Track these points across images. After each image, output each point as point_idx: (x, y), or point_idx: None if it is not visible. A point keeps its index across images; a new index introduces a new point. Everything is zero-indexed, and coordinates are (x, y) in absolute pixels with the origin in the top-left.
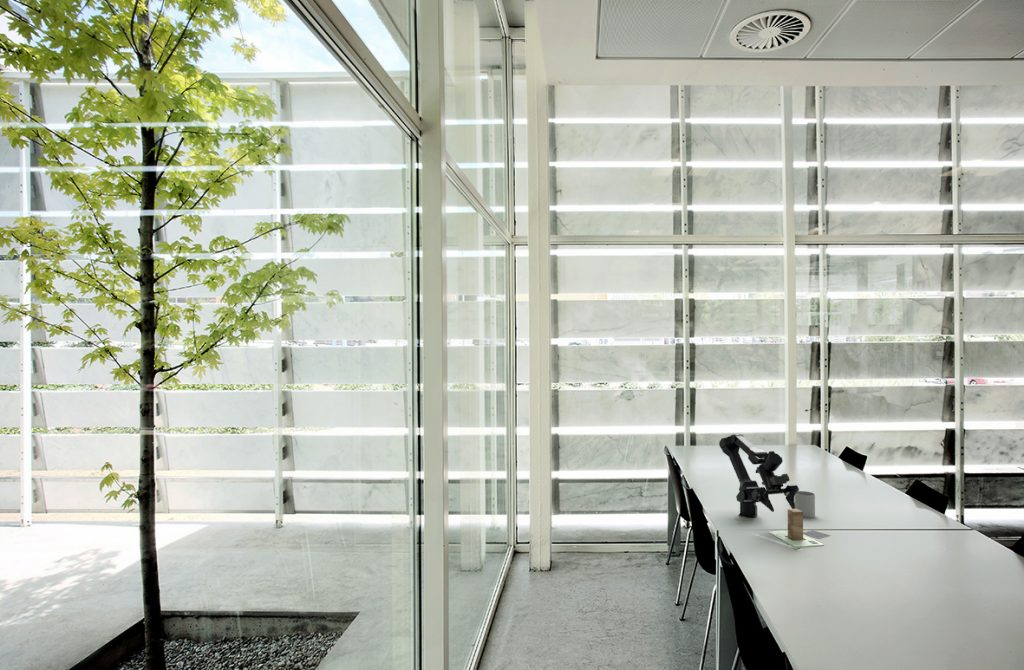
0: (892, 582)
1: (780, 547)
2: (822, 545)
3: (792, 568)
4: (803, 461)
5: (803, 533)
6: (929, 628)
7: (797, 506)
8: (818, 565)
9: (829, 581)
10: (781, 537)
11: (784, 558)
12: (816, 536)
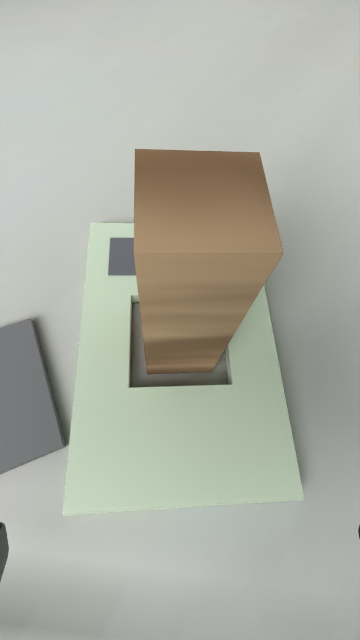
0: (114, 11)
1: (312, 262)
2: (100, 225)
3: (346, 104)
4: None
5: (44, 439)
6: None
7: None
8: (248, 105)
9: (278, 39)
10: (263, 356)
11: (343, 164)
12: (5, 363)
